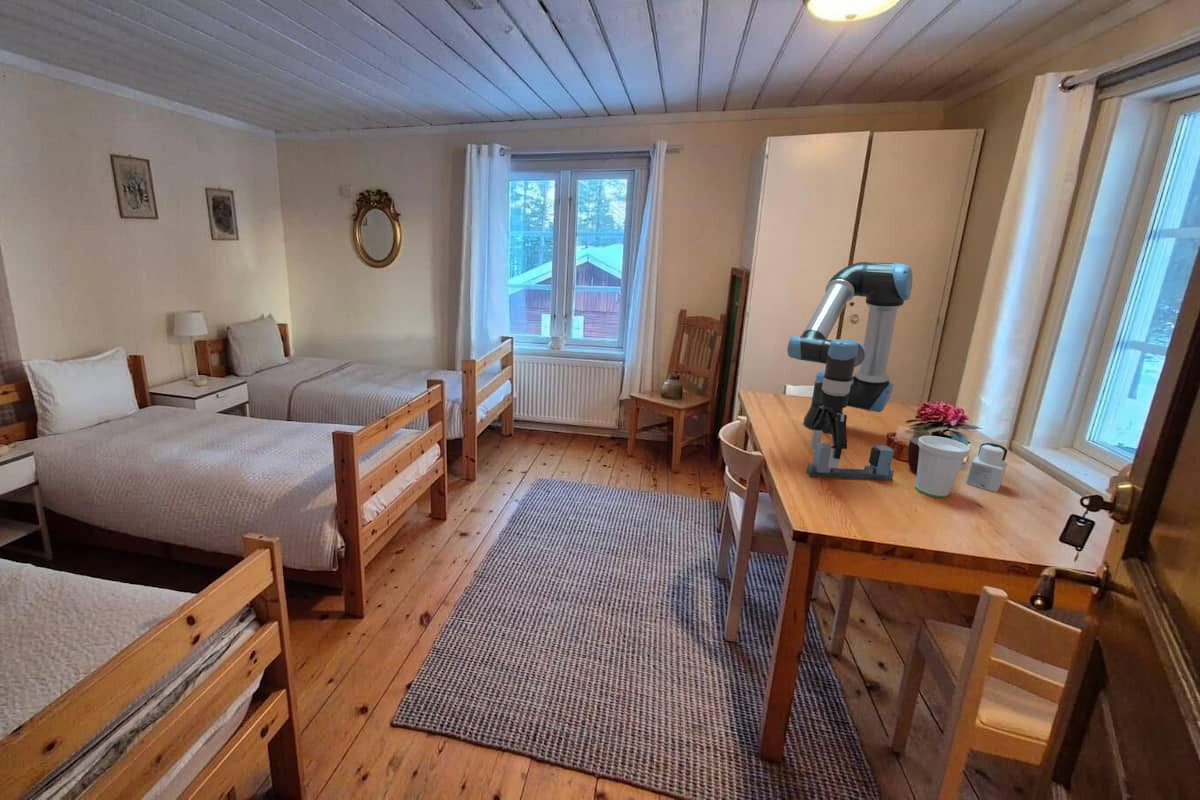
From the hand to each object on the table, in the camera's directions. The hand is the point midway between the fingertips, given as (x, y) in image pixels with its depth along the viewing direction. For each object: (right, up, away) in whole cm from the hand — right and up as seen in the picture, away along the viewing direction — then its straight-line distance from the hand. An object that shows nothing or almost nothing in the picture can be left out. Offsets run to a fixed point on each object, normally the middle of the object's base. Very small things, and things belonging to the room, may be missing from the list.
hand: (823, 458), depth 156 cm
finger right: (-1, -4, +1) cm, 4 cm away
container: (+49, -8, 0) cm, 50 cm away
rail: (+8, -6, +1) cm, 11 cm away
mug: (+33, -6, +7) cm, 35 cm away
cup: (+29, -9, -6) cm, 31 cm away
